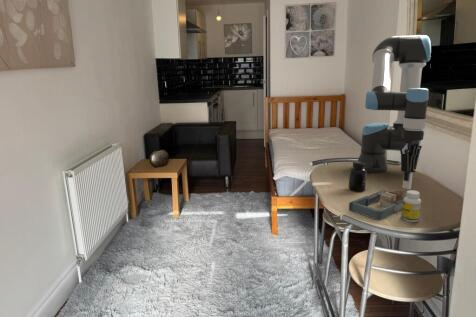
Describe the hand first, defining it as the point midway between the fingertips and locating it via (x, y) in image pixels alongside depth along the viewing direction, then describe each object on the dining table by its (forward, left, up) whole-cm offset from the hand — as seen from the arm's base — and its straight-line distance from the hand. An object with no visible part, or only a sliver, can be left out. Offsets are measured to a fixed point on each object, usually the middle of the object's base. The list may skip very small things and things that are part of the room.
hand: (406, 187), depth 143 cm
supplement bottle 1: (+8, -17, -4) cm, 19 cm away
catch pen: (+24, 0, -4) cm, 24 cm away
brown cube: (+8, 0, -4) cm, 8 cm away
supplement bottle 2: (+21, +12, -4) cm, 24 cm away
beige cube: (+14, 0, -4) cm, 14 cm away
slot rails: (+14, 0, -4) cm, 14 cm away
